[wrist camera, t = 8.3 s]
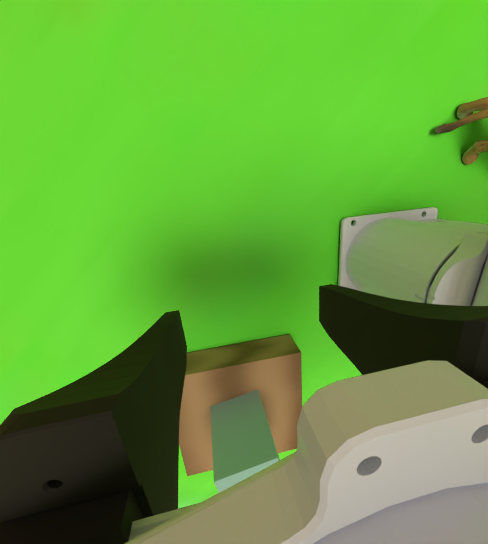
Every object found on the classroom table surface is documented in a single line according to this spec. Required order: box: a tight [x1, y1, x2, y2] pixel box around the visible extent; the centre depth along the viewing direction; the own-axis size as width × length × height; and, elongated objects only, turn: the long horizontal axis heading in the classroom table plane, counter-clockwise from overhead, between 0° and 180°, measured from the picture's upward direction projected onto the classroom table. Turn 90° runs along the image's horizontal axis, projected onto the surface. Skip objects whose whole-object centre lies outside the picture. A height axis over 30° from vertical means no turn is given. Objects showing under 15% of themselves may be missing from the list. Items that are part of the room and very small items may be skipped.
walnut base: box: [179, 334, 302, 476], centre depth 24 cm, size 12×12×3 cm
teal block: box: [210, 390, 280, 493], centre depth 20 cm, size 4×4×6 cm
